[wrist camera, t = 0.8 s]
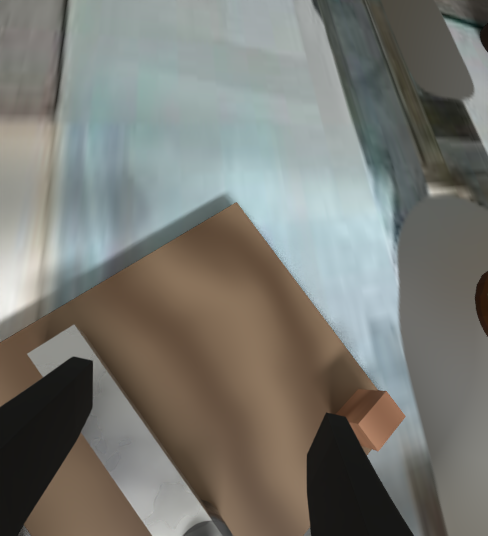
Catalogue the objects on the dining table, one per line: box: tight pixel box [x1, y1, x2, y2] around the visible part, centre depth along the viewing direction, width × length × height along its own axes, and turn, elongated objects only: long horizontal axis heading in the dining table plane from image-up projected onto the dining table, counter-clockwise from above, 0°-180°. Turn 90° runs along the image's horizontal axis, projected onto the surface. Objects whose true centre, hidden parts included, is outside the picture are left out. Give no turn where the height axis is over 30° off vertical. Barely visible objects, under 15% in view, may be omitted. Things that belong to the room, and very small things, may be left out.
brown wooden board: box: [0, 202, 406, 536], centre depth 21 cm, size 21×20×4 cm
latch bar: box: [27, 325, 233, 536], centre depth 17 cm, size 15×3×4 cm, turn 38°
